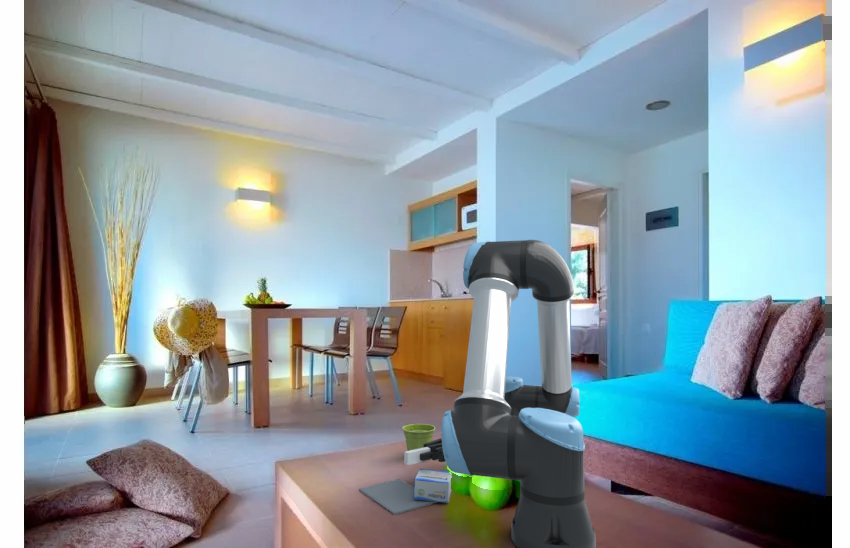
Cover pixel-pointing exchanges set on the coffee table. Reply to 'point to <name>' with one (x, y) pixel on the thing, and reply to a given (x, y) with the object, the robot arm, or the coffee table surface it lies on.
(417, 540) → the coffee table surface
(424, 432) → the plant pot
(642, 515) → the coffee table surface
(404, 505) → the mat
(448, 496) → the medicine box
